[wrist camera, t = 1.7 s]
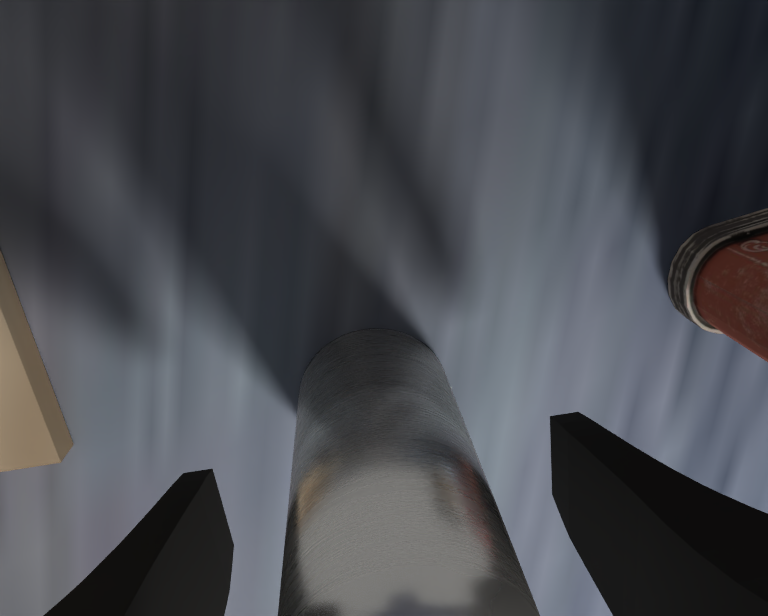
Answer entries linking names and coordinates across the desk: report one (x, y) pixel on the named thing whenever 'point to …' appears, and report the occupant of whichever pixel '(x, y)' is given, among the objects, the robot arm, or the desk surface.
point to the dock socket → (25, 392)
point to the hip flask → (726, 280)
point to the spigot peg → (391, 493)
